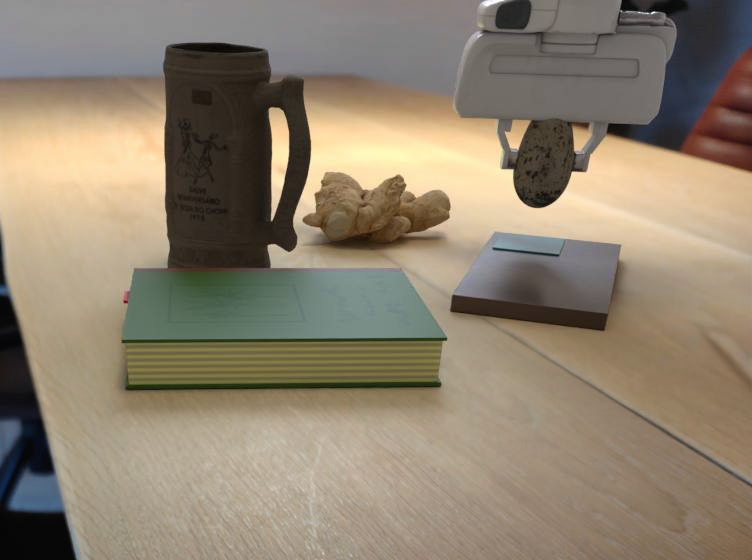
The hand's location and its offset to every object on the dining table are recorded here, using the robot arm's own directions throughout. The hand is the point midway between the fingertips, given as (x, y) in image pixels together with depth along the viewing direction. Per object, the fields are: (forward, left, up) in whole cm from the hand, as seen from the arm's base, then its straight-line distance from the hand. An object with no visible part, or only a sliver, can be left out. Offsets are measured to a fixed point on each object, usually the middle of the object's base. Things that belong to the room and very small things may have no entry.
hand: (542, 170), depth 95 cm
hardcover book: (+26, +31, -9) cm, 41 cm away
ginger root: (+18, -7, -9) cm, 21 cm away
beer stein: (+31, +10, -9) cm, 34 cm away
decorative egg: (0, 0, -4) cm, 4 cm away
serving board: (0, +9, -9) cm, 13 cm away
